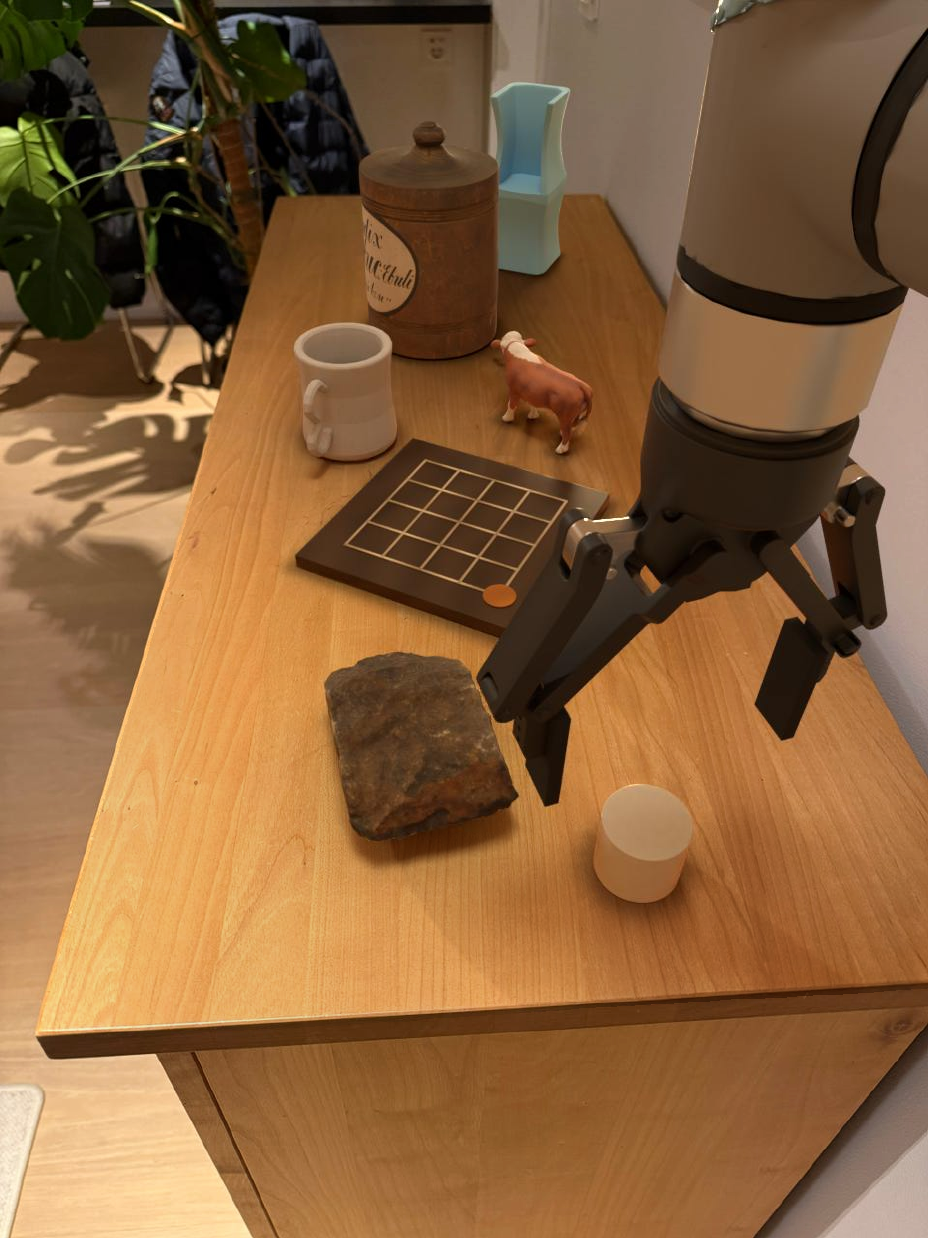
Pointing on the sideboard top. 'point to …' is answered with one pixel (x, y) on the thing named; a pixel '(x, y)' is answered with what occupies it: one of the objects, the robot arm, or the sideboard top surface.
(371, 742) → the stone
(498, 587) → the grid board
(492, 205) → the wooden container
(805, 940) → the sideboard top surface
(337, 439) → the mug
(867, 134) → the robot arm
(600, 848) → the white short cylinder
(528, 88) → the blue toy chair
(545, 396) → the bull figurine
